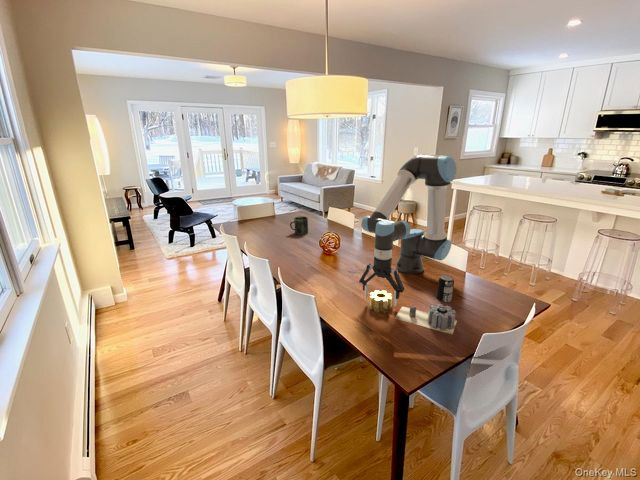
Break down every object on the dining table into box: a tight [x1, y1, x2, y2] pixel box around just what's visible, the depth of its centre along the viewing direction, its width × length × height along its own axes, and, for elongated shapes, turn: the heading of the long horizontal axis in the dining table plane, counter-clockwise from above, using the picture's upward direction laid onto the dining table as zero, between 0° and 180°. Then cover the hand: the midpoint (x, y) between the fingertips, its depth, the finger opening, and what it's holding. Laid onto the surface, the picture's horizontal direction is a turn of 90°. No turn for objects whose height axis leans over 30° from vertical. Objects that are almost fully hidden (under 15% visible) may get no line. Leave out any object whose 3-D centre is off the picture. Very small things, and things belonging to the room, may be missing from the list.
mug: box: [289, 215, 309, 235], centre depth 248 cm, size 11×15×12 cm
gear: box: [427, 303, 457, 332], centre depth 129 cm, size 10×10×7 cm
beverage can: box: [436, 274, 455, 303], centre depth 147 cm, size 7×7×12 cm
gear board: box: [394, 305, 458, 335], centre depth 132 cm, size 11×23×5 cm, turn 60°
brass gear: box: [368, 289, 393, 314], centre depth 144 cm, size 10×10×6 cm
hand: (380, 300), depth 143 cm, fingers open, 13 cm apart
